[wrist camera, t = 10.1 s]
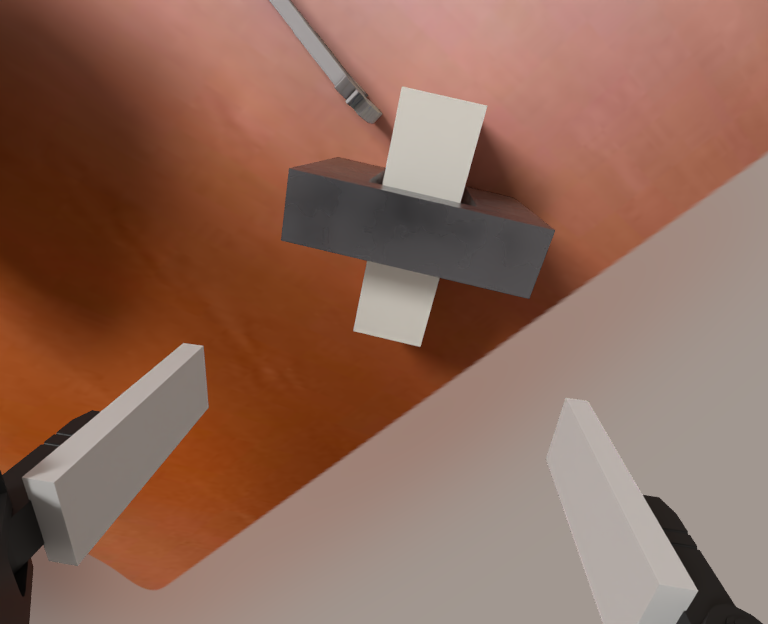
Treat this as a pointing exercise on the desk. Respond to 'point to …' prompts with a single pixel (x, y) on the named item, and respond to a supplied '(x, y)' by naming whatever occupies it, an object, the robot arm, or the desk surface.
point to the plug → (428, 177)
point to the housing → (415, 227)
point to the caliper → (328, 61)
